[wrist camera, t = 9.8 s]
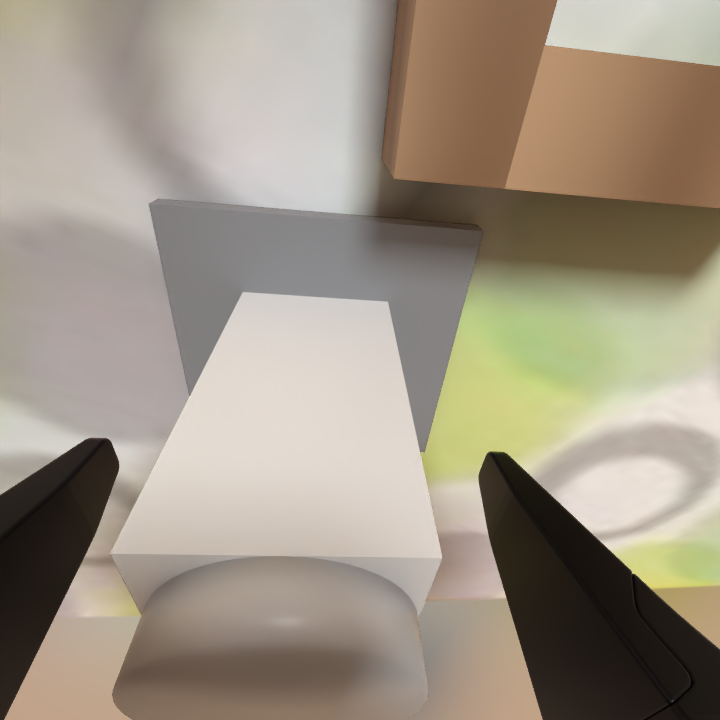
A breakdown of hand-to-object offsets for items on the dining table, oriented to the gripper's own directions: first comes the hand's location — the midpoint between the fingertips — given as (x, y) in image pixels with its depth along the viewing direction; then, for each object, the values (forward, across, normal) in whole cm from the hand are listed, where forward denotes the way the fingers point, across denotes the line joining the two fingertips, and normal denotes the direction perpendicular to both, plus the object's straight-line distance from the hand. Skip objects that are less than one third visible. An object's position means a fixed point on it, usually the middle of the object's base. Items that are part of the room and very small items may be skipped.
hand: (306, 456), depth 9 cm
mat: (+5, 0, 0) cm, 5 cm away
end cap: (+4, 0, 0) cm, 4 cm away
